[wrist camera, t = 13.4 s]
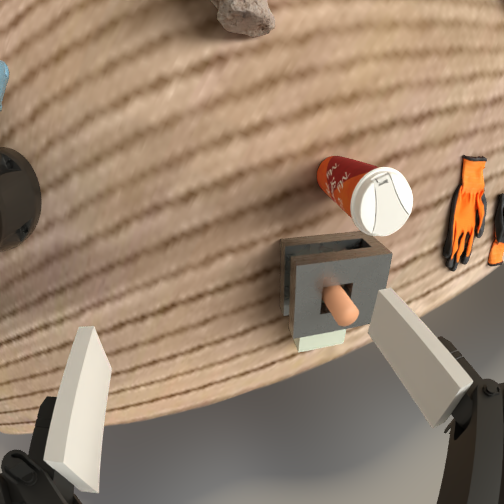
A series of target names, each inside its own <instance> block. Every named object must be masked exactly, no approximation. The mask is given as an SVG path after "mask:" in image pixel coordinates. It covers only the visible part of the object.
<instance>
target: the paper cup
mask: <svg viewBox="0 0 504 504" xmlns="http://www.w3.org/2000/svg"><path fill="white" fill-rule="evenodd" d="M317 181H318V184H319V186H320V187H321V189H322V190H323V191H324V192H325V193H326V194H327V195H328V196H329V197H330V198H331V199H332V200H333V201H334V202H335V203H336V204H338V205H339V206H340V207H341V208H342V209H343V210H344V211H345V212H346V213H347V214H348V215H349V216H350V217H351V218H352V219H353V222H354V223H355V225H356V226H357V228H358V229H359V230H360V231H362V232H363V233H365V234H367V235H371V236H388V235H390V234H392V233H394V232H395V231H397V230H398V229H400V228H401V227H402V226H403V225H404V223H405V222H406V220H407V219H408V217H409V215H410V213H411V210H412V205H413V195H412V191H411V188H410V186H409V184H408V183H407V181H406V179H405V178H404V176H403V175H402V174H401V173H400V172H398V171H397V170H395V169H393V168H389V167H377V166H373V165H370V164H367V163H363V162H360V161H356V160H353V159H349V158H345V157H340V156H332V157H329V158H327V159H325V160H324V161H323V162H322V163H321V164H320V166H319V168H318V171H317Z"/></svg>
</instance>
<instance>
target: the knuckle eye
mask: <svg viewBox="0 0 504 504" xmlns="http://www.w3.org/2000/svg"><path fill="white" fill-rule="evenodd" d="M340 286H341V287H342V288H343V290H344V284H342V285H340ZM321 303H324V301H323V300H321ZM345 333H346V329H343V330H338V331H333V332H328V333H323V334H318V335H312V336H307V337H301V338H295V339H293V340H294V342H295V345H296V347H297V350H298V352H303V351H308V350H314V349H319V348H324V347H328V346H333V345H338V344H342V343H344V338H345Z"/></svg>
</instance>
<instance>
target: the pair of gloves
mask: <svg viewBox="0 0 504 504" xmlns="http://www.w3.org/2000/svg"><path fill="white" fill-rule="evenodd" d="M463 160H464V162H463V170H462V183H461V184H460V185H459V186H458V188H457V190H456V192H455V194H454V197H453V201H452V205H451V216H450V224H449V231H448V236H447V240H446V243H445V247H444V250H443V255H444V257H445V258H448V260H447V263H446V266H447V267H449V269H450V270H451V271H455V270H456V268H457V265H458V263H459V259H460V256H461V254H462V252H463V251H464V249H465V247H466V251H465V254H464V255H463V257H462V260H461V262H462V264H467V262H468V261H469V258H470V255H471V251H472V245H473V241H474V234H475V230H476V236H477V238H480V237H481V236H482V234H483V231H484V225H485V216H486V206H487V202H486V198H485V195H484V179H483V169H484V168H485V167H484V166H485V162H486V161H487V159H486V158H485V157H483V156H482V157H480V156H479V157H477V158H476V157H470V156H465V155H463ZM503 207H504V194H503V193H502V194H501V195H500V197H499V201H498V208H497V212H496V217H495V237H496V239H495V241H494V243H493V245H492V247H491V250H490V254H489V262H488V265H489V266H497V265H501V264H502V263H503V261H502V256H503V252H504V219H503V212H502V210H503Z"/></svg>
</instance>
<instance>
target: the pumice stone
mask: <svg viewBox="0 0 504 504" xmlns="http://www.w3.org/2000/svg"><path fill="white" fill-rule="evenodd" d="M210 1H211V2H212V3H213V4H214V5H215V6H216V8H217V9H218V10H219V11H218V12H217V20H218V21H219V22H220V23H221V24H222V25H223V28H224V29H225V30H226V31H228V32H232V33H238V34H246V35H248V36H251V37H256V36H261V35H265V34H268V33H269V32H270V30H272V29H274V28H275V18H274V16H273V14H272V13H271V11H270V9H269V6H268V3H267V0H210Z"/></svg>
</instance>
